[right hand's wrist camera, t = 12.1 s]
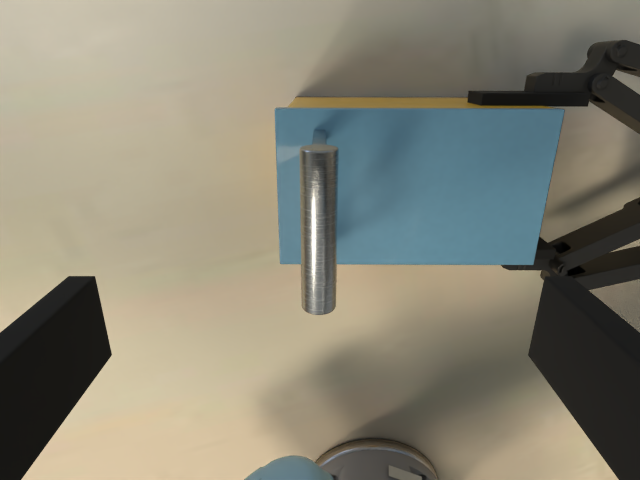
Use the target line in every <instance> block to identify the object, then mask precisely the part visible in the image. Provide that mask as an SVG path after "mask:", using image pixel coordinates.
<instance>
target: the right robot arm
mask: <svg viewBox="0 0 640 480" xmlns="http://www.w3.org/2000/svg"><path fill="white" fill-rule="evenodd" d="M111 355H112V354H111V349H110V344H109V340H108V335H107V330H106V326H105V321H104V316H103V312H102V307H101V302H100V298H99V293H98V288H97V284H96V279H95V276H69V277H67V278H66V279H65V280H64V281H62V282H61V283H60V284H59V285H58V286H56V287H55V288H54V289H53V290H52V291H50V292H49V293H48V294H47V295H46V296H44V297H43V298H42V299H41V300H39V301H38V302H37V303H36V304H35V305H33V306H32V307H31V308H30V309H29V310H27V311H26V312H25V313H24V314H22V315H21V316H20V317H19V318H18V319H16V320H15V321H14V322H13V323H12V324H10V325H9V326H8V327H7V328H6V329H4V330H3V331H2V332H1V333H0V480H21V479H22V478H23V476H24V475H25V473H26V472H27V471H28V469H29V468H30V467H31V465H32V464H33V462H34V461H35V460H36V458H37V457H38V456H39V454H40V453H41V452H42V450H43V449H44V447H45V446H46V445H47V443H48V442H49V441H50V439H51V438H52V436H53V435H54V434H55V432H56V431H57V430H58V428H59V427H60V425H61V424H62V423H63V421H64V420H65V419H66V417H67V416H68V414H69V413H70V412H71V410H72V409H73V408H74V406H75V405H76V403H77V402H78V401H79V399H80V398H81V397H82V395H83V394H84V392H85V391H86V390H87V388H88V387H89V386H90V384H91V383H92V381H93V380H94V379H95V377H96V376H97V375H98V373H99V372H100V370H101V369H102V368H103V366H104V365H105V364H106V362H107V361H108V359H109V358H110V357H111ZM528 355H529V357H530V358H531V359H532V361H533V362H534V364H535V365H536V366H537V368H538V369H539V370H540V372H541V373H542V375H543V376H544V377H545V379H546V380H547V381H548V383H549V384H550V386H551V387H552V388H553V390H554V391H555V392H556V394H557V395H558V397H559V398H560V399H561V401H562V402H563V403H564V405H565V406H566V408H567V409H568V410H569V412H570V413H571V414H572V416H573V417H574V419H575V420H576V421H577V423H578V424H579V425H580V427H581V428H582V430H583V431H584V432H585V434H586V435H587V436H588V438H589V439H590V441H591V442H592V443H593V445H594V446H595V447H596V449H597V450H598V452H599V453H600V454H601V456H602V457H603V458H604V460H605V461H606V462H607V464H608V465H609V467H610V468H611V469H612V471H613V472H614V473H615V475H616V476H617V478H618V479H619V480H640V333H639V332H638V331H637V330H636V329H634V328H633V327H632V326H631V325H630V324H628V323H627V322H626V321H625V320H624V319H622V318H621V317H620V316H619V315H618V314H616V313H615V312H614V311H613V310H611V309H610V308H609V307H608V306H607V305H605V304H604V303H603V302H602V301H601V300H599V299H598V298H597V297H596V296H594V295H593V294H592V293H591V292H590V291H588V290H587V289H586V288H585V287H584V286H582V285H581V284H580V283H579V282H578V281H576V280H575V279H574V278H573V277H571V276H545V279H544V284H543V288H542V293H541V298H540V302H539V307H538V312H537V316H536V321H535V326H534V330H533V335H532V340H531V344H530V349H529V354H528Z"/></svg>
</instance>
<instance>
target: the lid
mask: <svg viewBox="0 0 640 480" xmlns="http://www.w3.org/2000/svg"><path fill="white" fill-rule="evenodd" d="M564 111H565V110H564V109H558V108H275V132H276V161H277V190H278V219H279V248H280V264H301V289H302V308H303V309H304V310H305V311H306V312H308V313H310V314H315V315H323V314H327V313H330V312H332V311H333V310H334V309H335V307H336V270H337V264H409V265H533V264H534V259H535V254H536V249H537V244H538V239H539V234H540V229H541V224H542V220H543V215H544V210H545V205H546V200H547V195H548V190H549V185H550V180H551V175H552V170H553V165H554V161H555V156H556V151H557V146H558V141H559V136H560V131H561V126H562V121H563V116H564Z"/></svg>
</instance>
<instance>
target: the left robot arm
mask: <svg viewBox="0 0 640 480" xmlns="http://www.w3.org/2000/svg"><path fill="white" fill-rule="evenodd" d="M587 57H588V59H587V61H586V63H585V65H584V66H583V67H582V68H581V69H580V70H579V71H577V72H573V73H533V74H530V75H528V76H527V77H526V83H525V89H524V91H469V93H468V101H467V102H468V103H472V104H476V105H481V106H588V102H589V101H590V102H591V103H593V104H594V105H596V106H598V107H599V108H601V109H602V110H604V111H605V112H607V113H608V114H610V115H611V116H613V117H614V118H616V119H617V120H619V121H621V122H622V123H624V124H625V125H627V126H628V127H630V128H631V129H633V130H634V131H636V132H637V133H639V134H640V95H639V94H638V93H636V92H635V91H633V90H632V89H630V88H629V87H627V86H626V85H624V84H623V83H621V82H620V81H618V80H617V79H615V78H614V77H612V76H613V74H614V72H615V70H618V71H622V72H625V73H628V74H631V75H635V76H638V77H640V45H639V44H636V43H633V42H630V41H627V40H619V41H608V42H598V43H595V44H593V45H592V46H591V47H590V48H589V50H588V53H587ZM638 239H640V197H639V198H637V199H635V200H633V201H631V202H628V203H626V204H625V205H624V208H623V209H622V210H620V211H618V212H615V213H613V214H611V215H609V216H606V217H604V218H602V219H600V220H598V221H595V222H593V223H591V224H589V225H587V226H584V227H582V228H580V229H578V230H576V231H573V232H571V233H569V234H567V235H565V236H562V237H560V238H558V239H556V240H554V241H551V242H549V243H547V242H546V241H544V240H543V239H542V238H541V237H539V239H538V244H537V249H536V254H535V259H534V264H533V265H501V266H502V267H503V268H506V269H508V270H542V271H541V274H540V276H541V278H542V279H543V280H544V279H545V276H571V277H573V278H574V279H575V280H576V281H578V282H579V283H580V284H581V285H582V286H584V287H585V288H586V289H587V290H591V289H595V288H600V287H605V286H609V285H614V284H618V283H623V282H627V281H632V280H637V279H640V246H638V247H632V248H628V249H624V250H619V251H615V252H611V251H613V250H615V249H618V248H620V247H622V246H625V245H627V244H629V243H631V242H634V241H636V240H638ZM609 252H610V253H609ZM244 480H438V479H437V475H436V472H435V470H434V468H433V466H432V465H431V463H430V462H429V461H428V459H427V458H426V457H425V456H423V455H422V454H421V453H420V452H418V451H417V450H415V449H413V448H412V447H409V446H407V445H405V444H402V443H399V442H395V441H391V440H384V439H365V440H358V441H353V442H349V443H346V444H343V445H340V446H338V447H336V448H334V449H332V450H330V451H329V452H327V453H326V454H324V455H323V456H322V457H320V458H319V459H318V460H317V461H316V462H313V461H312V460H310V459H308V458H306V457H302V456H286V457H282V458H279V459H276V460H274V461H272V462H270V463H269V464H267V465H266V466H264V467H260V468H259V469H257V470H256V471H254V472H253V473H252V474H250V475H249V476H248V477H247V478H246V479H244Z"/></svg>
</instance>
